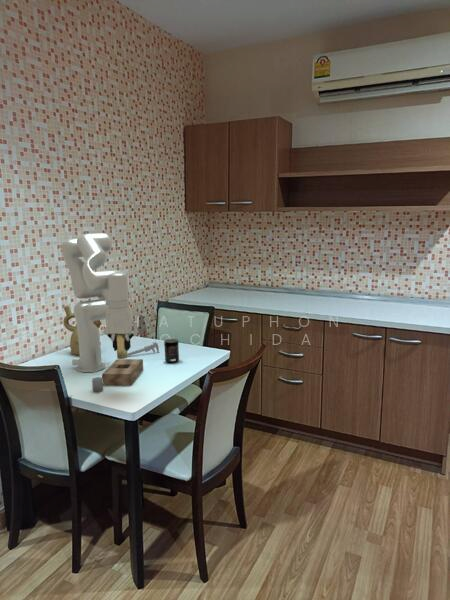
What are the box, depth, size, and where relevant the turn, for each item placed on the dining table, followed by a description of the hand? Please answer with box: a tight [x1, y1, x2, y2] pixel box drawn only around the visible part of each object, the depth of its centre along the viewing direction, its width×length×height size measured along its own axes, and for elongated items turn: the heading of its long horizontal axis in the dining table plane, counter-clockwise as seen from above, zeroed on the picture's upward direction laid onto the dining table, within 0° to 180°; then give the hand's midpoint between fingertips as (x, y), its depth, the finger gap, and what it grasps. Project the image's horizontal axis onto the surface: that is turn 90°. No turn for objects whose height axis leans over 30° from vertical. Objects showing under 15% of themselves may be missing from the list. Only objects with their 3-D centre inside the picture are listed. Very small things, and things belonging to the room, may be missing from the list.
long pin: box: [116, 334, 129, 359], centre depth 183 cm, size 4×4×10 cm
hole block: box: [101, 358, 144, 387], centre depth 202 cm, size 12×20×5 cm, turn 176°
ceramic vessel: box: [63, 305, 102, 356], centre depth 240 cm, size 17×20×25 cm
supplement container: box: [163, 338, 180, 365], centre depth 222 cm, size 7×7×10 cm
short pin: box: [91, 376, 104, 394], centre depth 187 cm, size 4×4×5 cm
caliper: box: [127, 341, 160, 357], centre depth 234 cm, size 20×1×6 cm, turn 114°
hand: (121, 349), depth 184 cm, fingers closed on long pin, 4 cm apart
